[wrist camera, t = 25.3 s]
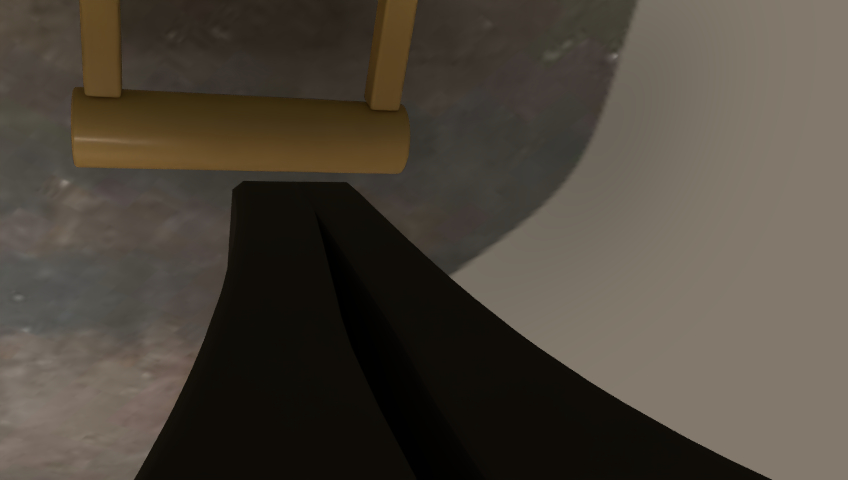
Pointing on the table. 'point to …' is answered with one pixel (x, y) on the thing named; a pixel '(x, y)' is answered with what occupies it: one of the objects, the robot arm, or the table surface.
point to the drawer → (240, 113)
